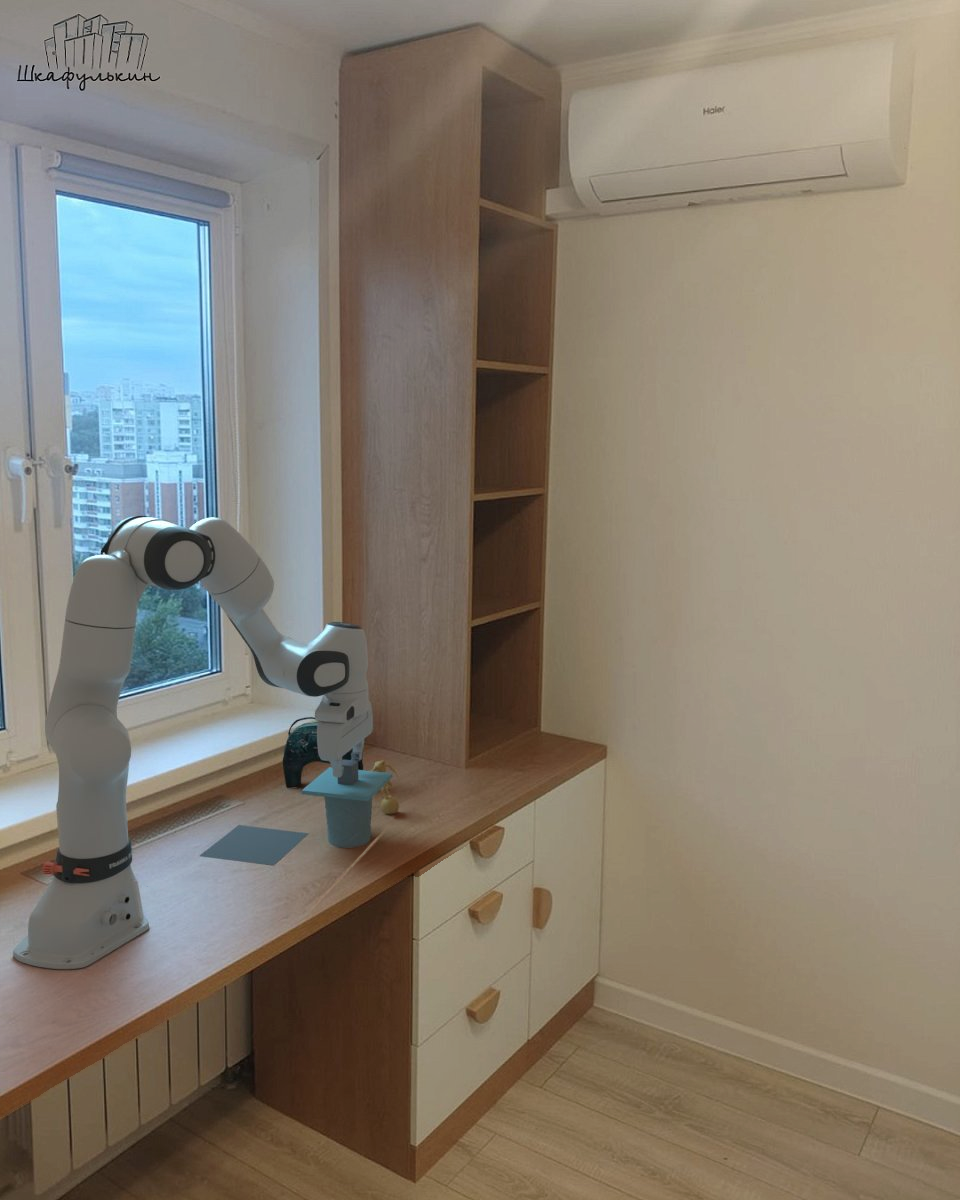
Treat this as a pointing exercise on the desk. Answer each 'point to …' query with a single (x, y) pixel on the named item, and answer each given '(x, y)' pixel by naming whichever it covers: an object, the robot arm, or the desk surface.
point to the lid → (348, 783)
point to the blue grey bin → (348, 821)
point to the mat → (255, 845)
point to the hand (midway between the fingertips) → (347, 768)
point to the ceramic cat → (303, 752)
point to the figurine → (388, 803)
